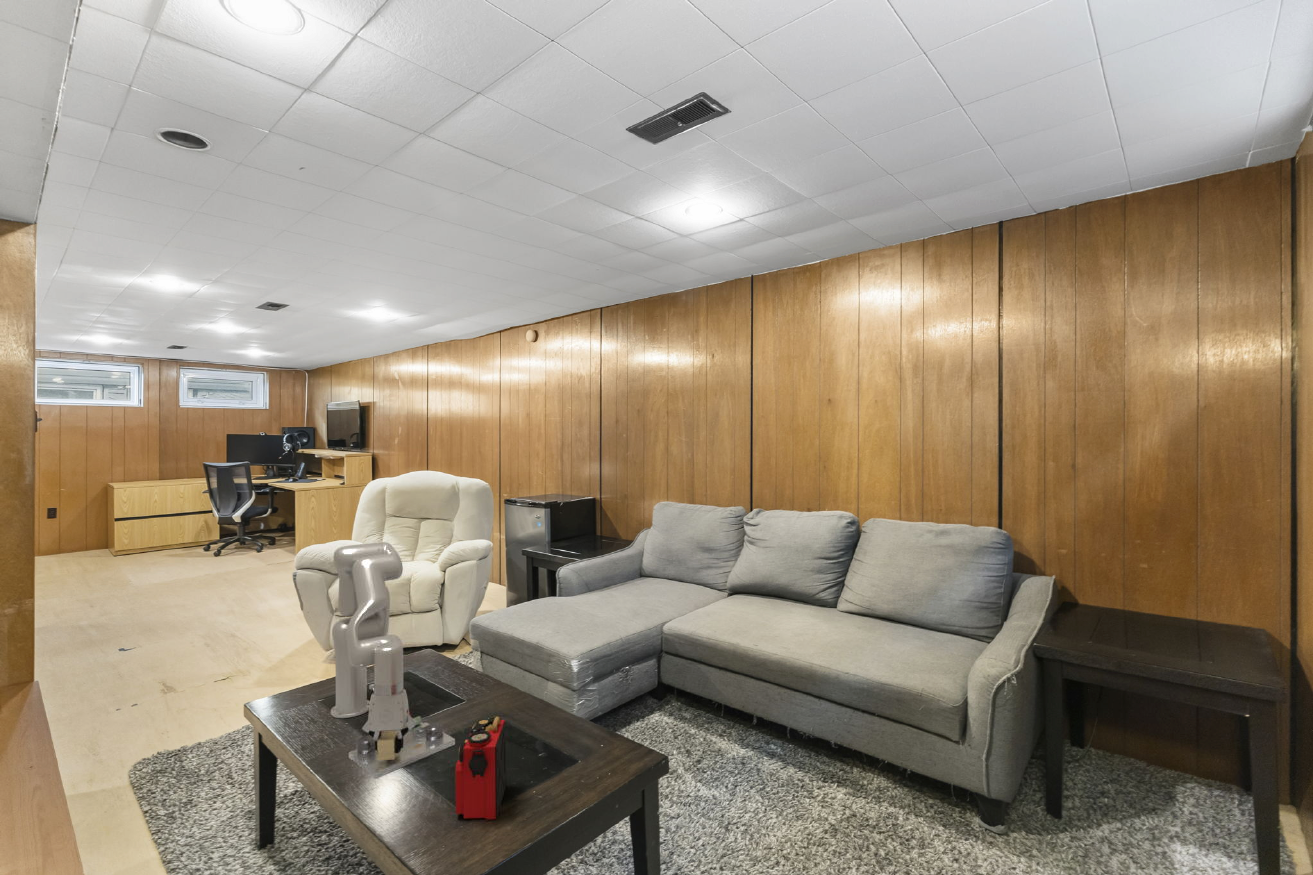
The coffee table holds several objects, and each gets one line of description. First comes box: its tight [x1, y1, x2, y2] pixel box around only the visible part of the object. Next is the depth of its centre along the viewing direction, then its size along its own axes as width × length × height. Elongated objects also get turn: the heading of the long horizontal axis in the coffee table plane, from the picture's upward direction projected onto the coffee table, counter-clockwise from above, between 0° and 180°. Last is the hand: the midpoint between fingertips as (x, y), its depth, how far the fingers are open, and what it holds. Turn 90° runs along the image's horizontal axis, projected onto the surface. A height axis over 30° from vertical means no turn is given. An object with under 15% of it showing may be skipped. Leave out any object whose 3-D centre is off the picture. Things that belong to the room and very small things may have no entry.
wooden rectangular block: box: [377, 730, 397, 761], centre depth 174 cm, size 10×4×7 cm, turn 9°
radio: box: [454, 716, 507, 820], centre depth 153 cm, size 16×10×20 cm, turn 5°
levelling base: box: [348, 715, 456, 779], centre depth 180 cm, size 17×24×6 cm
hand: (389, 750), depth 173 cm, fingers closed on wooden rectangular block, 4 cm apart
